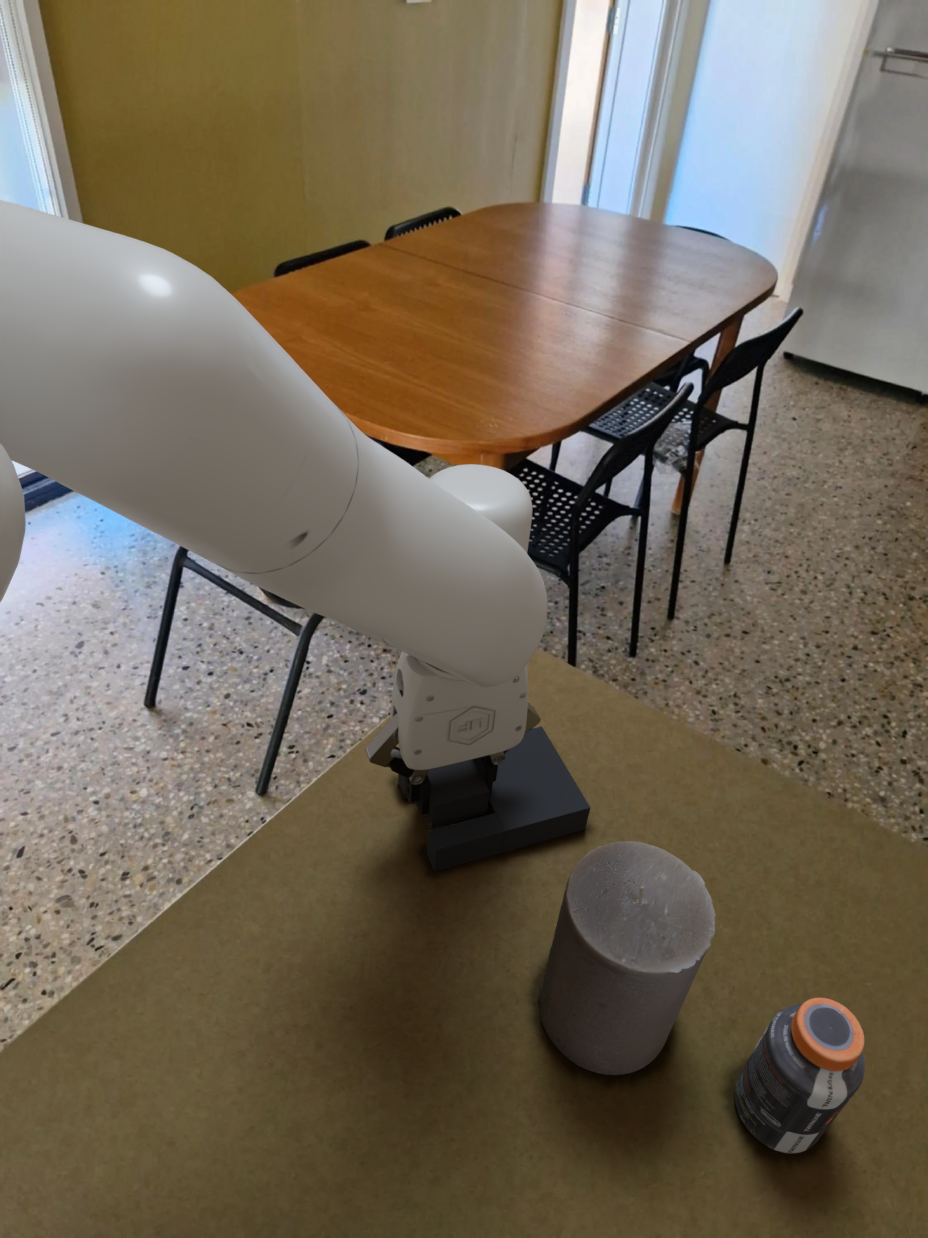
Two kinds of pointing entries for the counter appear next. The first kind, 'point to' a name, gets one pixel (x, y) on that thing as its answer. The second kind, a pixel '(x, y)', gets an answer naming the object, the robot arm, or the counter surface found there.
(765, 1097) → the pill bottle
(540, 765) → the large pad
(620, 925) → the pillar candle
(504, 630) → the robot arm
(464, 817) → the small pad
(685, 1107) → the counter surface
